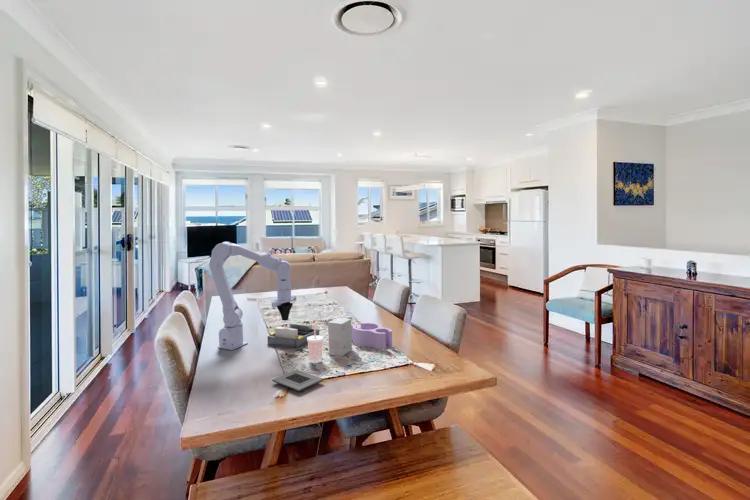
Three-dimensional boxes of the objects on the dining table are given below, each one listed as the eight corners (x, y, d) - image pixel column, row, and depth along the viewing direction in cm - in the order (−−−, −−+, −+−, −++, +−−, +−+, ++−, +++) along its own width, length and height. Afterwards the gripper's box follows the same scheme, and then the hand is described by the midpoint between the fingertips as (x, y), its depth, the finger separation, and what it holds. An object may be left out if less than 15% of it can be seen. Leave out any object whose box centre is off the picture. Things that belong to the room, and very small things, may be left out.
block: (294, 347, 171) (294, 330, 170) (275, 344, 175) (274, 328, 175) (298, 345, 173) (297, 329, 173) (278, 342, 177) (278, 326, 177)
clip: (398, 345, 172) (398, 329, 171) (377, 352, 163) (377, 335, 163) (365, 335, 186) (365, 320, 186) (345, 341, 177) (344, 326, 177)
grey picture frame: (272, 385, 134) (271, 378, 134) (296, 375, 142) (296, 368, 142) (299, 396, 126) (298, 388, 126) (323, 384, 134) (323, 377, 134)
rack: (296, 348, 168) (296, 334, 168) (267, 344, 174) (267, 330, 174) (319, 337, 184) (319, 324, 183) (291, 333, 190) (291, 320, 189)
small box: (338, 348, 169) (337, 317, 168) (352, 350, 166) (351, 318, 165) (328, 354, 161) (327, 322, 160) (342, 356, 159) (341, 323, 158)
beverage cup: (312, 357, 159) (311, 321, 157) (326, 359, 156) (325, 323, 155) (304, 362, 153) (303, 326, 152) (318, 364, 151) (317, 327, 149)
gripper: (280, 292, 166) (281, 325, 168) (301, 286, 179) (302, 317, 181) (267, 291, 169) (268, 323, 171) (288, 285, 182) (289, 315, 184)
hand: (285, 320), depth 176 cm, fingers closed
